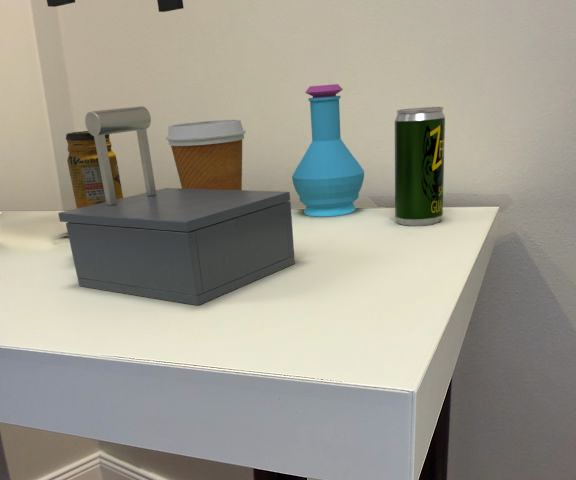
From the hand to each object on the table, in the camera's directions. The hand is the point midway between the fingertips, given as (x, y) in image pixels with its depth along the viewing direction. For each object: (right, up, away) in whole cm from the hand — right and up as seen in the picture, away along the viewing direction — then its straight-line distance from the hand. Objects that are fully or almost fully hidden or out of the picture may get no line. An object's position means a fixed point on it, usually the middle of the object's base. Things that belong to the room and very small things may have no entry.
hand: (120, 8), depth 61 cm
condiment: (-9, -15, +25) cm, 30 cm away
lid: (+5, -19, -2) cm, 20 cm away
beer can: (+31, -16, +15) cm, 38 cm away
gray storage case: (+6, -25, +1) cm, 25 cm away
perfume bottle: (+21, -13, +25) cm, 35 cm away
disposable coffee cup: (+7, -15, +22) cm, 27 cm away
